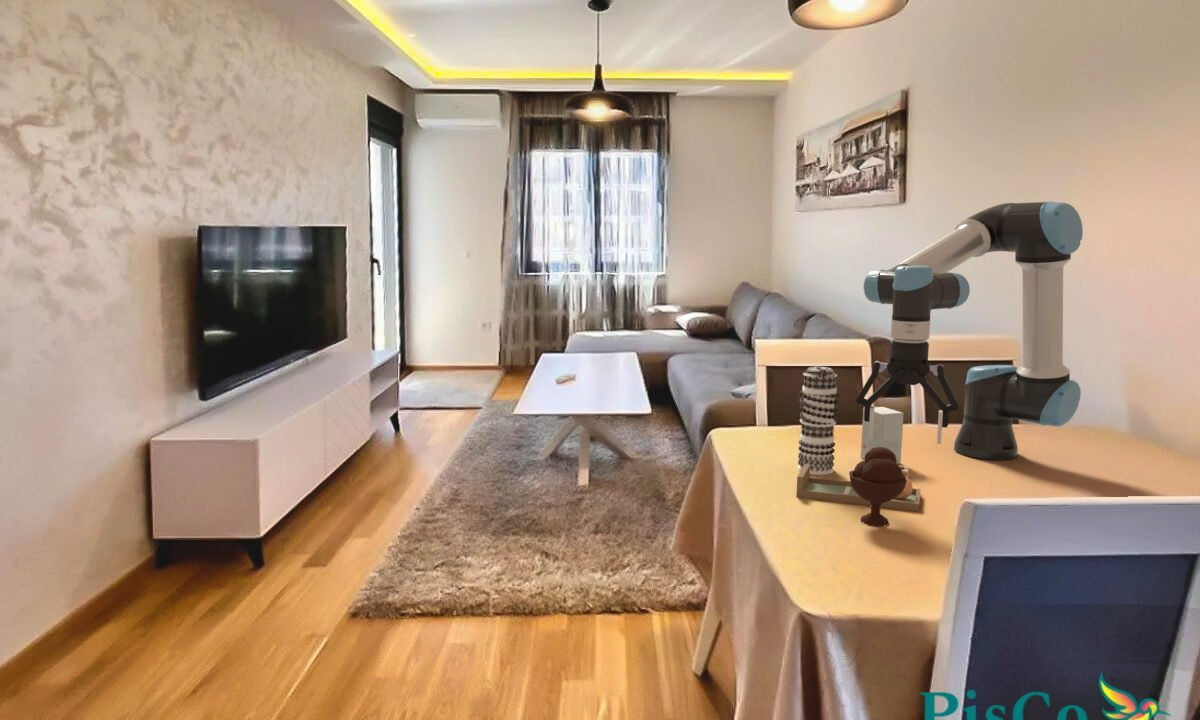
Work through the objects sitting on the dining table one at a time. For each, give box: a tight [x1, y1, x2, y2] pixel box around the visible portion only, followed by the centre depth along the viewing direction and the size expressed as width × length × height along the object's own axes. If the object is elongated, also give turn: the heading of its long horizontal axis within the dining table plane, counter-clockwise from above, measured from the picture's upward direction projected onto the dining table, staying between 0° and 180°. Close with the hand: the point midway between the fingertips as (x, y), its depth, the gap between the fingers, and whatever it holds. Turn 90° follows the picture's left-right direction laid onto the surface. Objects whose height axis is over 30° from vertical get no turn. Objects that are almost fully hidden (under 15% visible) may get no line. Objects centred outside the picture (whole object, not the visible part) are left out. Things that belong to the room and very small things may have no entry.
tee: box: [898, 464, 910, 479], centre depth 189 cm, size 4×4×5 cm
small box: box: [860, 406, 904, 464], centre depth 212 cm, size 8×6×13 cm
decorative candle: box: [797, 365, 840, 476], centre depth 202 cm, size 9×9×25 cm
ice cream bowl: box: [848, 447, 907, 527], centre depth 167 cm, size 11×11×15 cm
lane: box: [795, 464, 921, 512], centre depth 184 cm, size 25×11×4 cm, turn 68°
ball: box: [896, 477, 914, 499], centre depth 180 cm, size 5×5×5 cm
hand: (904, 439), depth 179 cm, fingers open, 13 cm apart
